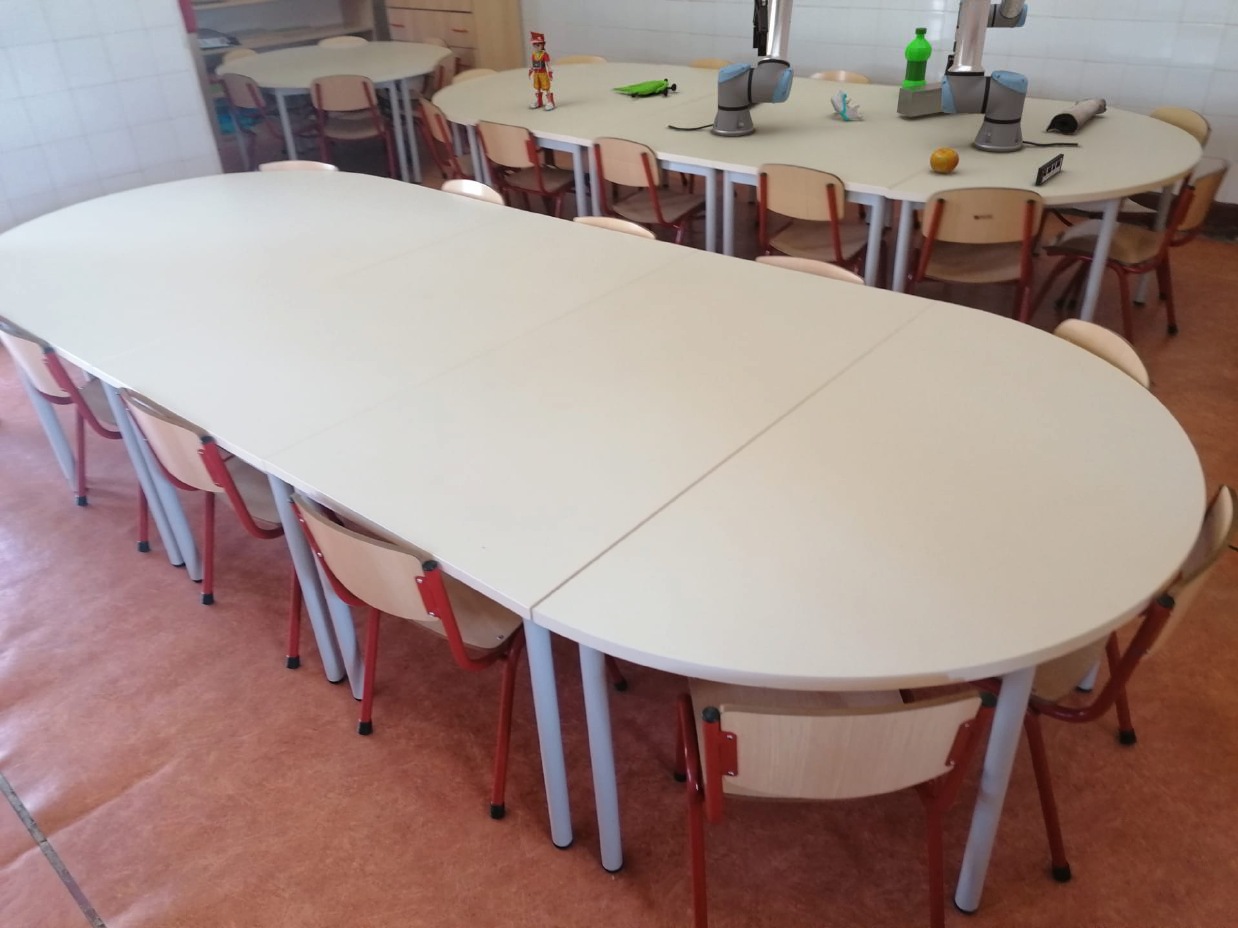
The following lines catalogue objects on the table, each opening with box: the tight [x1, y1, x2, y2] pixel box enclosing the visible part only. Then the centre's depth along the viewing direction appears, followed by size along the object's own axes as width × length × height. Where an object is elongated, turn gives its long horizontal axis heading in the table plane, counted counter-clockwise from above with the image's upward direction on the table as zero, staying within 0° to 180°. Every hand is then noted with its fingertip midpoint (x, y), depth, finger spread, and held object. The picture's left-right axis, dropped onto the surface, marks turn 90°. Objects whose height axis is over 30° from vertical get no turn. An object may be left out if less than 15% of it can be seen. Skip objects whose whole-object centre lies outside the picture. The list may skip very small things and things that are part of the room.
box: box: [896, 81, 945, 118], centre depth 339 cm, size 27×8×9 cm, turn 110°
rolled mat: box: [1045, 97, 1108, 135], centre depth 319 cm, size 30×9×10 cm
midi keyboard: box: [1035, 153, 1065, 186], centre depth 273 cm, size 18×1×5 cm, turn 138°
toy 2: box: [612, 78, 677, 99], centre depth 396 cm, size 28×5×30 cm
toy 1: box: [527, 31, 556, 111], centre depth 374 cm, size 12×9×30 cm
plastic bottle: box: [901, 27, 933, 88], centre depth 359 cm, size 10×10×25 cm
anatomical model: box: [830, 89, 864, 121], centre depth 343 cm, size 15×10×10 cm
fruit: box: [929, 147, 960, 174], centre depth 283 cm, size 8×8×8 cm
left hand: (759, 52), depth 293 cm, fingers open, 13 cm apart
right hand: (955, 105), depth 343 cm, fingers closed on box, 8 cm apart
